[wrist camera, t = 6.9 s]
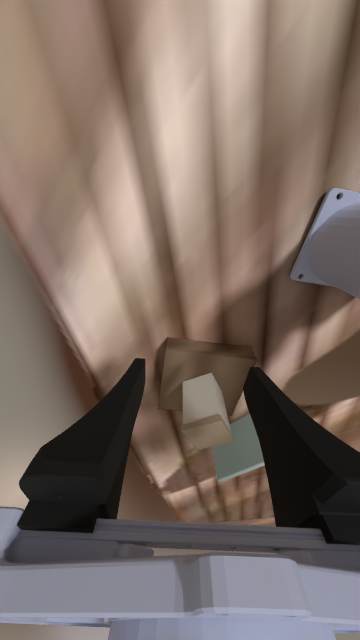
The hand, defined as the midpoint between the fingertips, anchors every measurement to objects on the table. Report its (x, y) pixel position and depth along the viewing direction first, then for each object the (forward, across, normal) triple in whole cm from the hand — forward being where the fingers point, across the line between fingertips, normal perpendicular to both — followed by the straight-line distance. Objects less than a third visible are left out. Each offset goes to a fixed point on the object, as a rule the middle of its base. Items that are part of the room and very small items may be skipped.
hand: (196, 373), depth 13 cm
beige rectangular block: (+8, -3, +10) cm, 13 cm away
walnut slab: (+11, -3, +10) cm, 15 cm away
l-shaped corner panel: (+11, -15, +25) cm, 31 cm away
